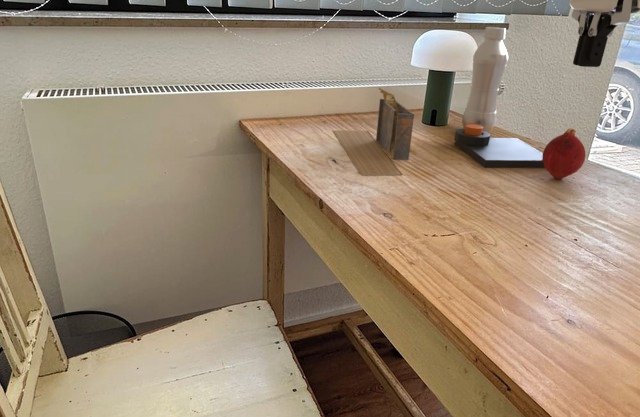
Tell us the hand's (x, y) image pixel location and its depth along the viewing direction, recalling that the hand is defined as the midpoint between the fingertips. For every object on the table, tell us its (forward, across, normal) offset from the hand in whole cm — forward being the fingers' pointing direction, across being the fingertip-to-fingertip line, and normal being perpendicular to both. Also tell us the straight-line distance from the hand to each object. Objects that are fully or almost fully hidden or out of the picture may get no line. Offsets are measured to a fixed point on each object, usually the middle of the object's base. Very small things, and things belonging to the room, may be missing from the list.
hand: (586, 65), depth 69 cm
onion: (+17, -1, 0) cm, 17 cm away
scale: (+17, +11, +4) cm, 21 cm away
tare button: (+14, +15, +8) cm, 22 cm away
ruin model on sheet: (+17, +14, +23) cm, 32 cm away
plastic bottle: (+17, +26, +2) cm, 31 cm away
